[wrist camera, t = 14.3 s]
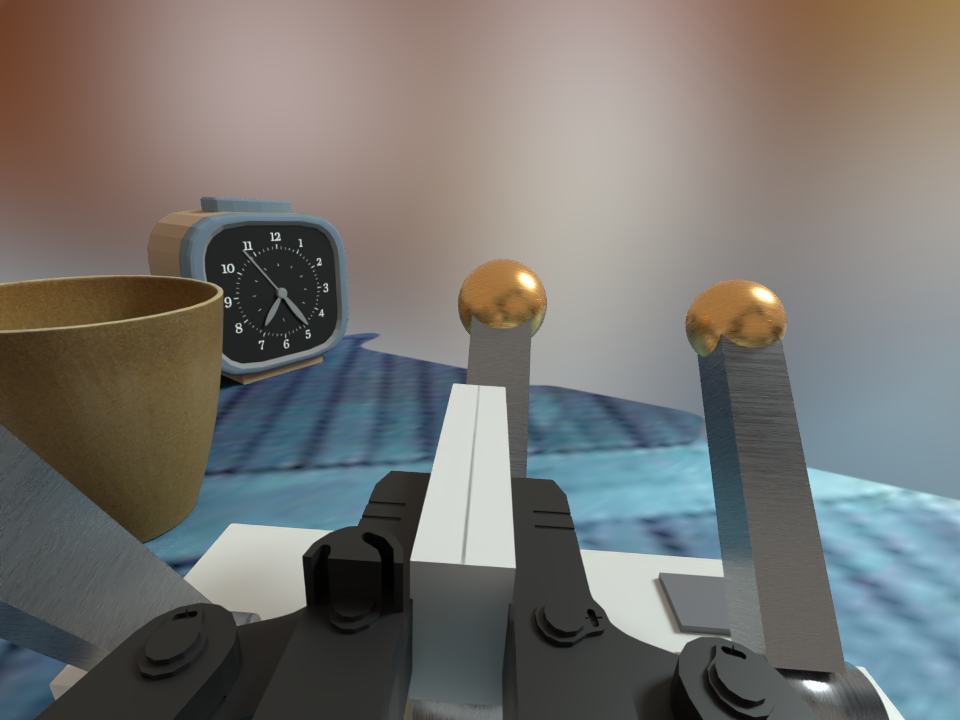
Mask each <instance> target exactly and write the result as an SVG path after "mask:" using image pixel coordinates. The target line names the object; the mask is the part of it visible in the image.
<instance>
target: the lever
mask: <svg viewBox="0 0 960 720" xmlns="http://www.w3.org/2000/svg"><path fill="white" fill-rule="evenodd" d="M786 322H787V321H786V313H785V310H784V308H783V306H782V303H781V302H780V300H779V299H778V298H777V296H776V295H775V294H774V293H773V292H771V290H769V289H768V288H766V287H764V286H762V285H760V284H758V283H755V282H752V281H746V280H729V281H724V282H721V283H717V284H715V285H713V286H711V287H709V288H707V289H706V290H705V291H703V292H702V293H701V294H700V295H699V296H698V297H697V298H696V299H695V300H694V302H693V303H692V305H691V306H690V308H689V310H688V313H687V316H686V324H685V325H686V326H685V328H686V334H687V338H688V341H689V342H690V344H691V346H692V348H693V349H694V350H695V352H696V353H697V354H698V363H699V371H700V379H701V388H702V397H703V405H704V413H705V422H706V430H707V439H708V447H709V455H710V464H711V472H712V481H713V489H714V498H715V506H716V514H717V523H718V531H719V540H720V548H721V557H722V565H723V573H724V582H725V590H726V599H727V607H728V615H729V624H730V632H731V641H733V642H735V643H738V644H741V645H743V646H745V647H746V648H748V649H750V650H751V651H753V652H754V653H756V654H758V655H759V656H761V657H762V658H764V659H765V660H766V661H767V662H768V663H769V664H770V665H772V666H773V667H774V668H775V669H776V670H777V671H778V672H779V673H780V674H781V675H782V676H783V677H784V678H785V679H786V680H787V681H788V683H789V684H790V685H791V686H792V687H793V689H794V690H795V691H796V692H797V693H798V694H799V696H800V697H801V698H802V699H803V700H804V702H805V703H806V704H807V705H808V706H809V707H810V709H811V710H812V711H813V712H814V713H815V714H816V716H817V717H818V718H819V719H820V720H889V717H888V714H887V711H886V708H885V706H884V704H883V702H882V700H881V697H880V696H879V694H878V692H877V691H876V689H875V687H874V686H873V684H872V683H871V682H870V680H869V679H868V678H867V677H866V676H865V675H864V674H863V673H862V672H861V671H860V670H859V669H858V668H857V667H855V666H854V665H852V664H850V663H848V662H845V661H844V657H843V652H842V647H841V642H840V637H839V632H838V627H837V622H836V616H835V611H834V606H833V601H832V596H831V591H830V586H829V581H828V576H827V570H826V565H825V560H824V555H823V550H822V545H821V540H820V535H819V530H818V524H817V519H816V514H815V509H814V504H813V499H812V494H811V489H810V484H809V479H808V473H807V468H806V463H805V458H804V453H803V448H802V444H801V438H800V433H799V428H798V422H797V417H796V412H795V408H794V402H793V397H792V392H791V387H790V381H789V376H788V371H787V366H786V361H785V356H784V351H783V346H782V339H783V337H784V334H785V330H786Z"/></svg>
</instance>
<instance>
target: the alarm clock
mask: <svg viewBox="0 0 960 720" xmlns="http://www.w3.org/2000/svg"><path fill="white" fill-rule="evenodd" d="M201 206H202V210H191V211H184V212H177V213H171V214H169V215H168V216H166V217H164V218H163V219H161V220H160V221H158V222H157V224H156V225H155V227H154V228H153V230H152V232H151V233H150V237H149V243H148V260H149V266H150V272H151V276H169V277H181V278H190V279H195V280H201V281H205V282H210V283H213V284H215V285H218V286H219V287H221V288H222V289H223V345H222V366H221V374H222V375H224V376H226V377H228V378H230V379H232V380H235V381H237V382H239V383H241V384H243V385H245V384H248V383H252V382H255V381H259V380H262V379H265V378H269V377H272V376H276V375H279V374H283V373H286V372H289V371H293V370H296V369H300V368H303V367H307V366H310V365H314V364H317V363H320V362H323V356H322V354H324V353H326V352H328V351H330V350H332V349H334V348H335V347H336V345H337V344H338V343H339V342H340V341H341V340H342V338H343V336H344V333H345V332H346V328H347V322H348V291H347V272H346V257H345V249H344V245H343V242H342V240H341V236H340V234H339V233H338V232H337V230H336V228H335V227H334V226H333V225H331V224H330V223H329V222H328V221H326V220H325V219H323V218H319V217H314V216H309V215H304V214H295V213H292V211H291V203H290V202H289V201H280V200H261V199H259V200H258V199H238V198H213V197H202V198H201Z"/></svg>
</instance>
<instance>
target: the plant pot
mask: <svg viewBox="0 0 960 720" xmlns="http://www.w3.org/2000/svg"><path fill="white" fill-rule="evenodd" d="M222 345H223V289H222V288H221V287H219V286H218V285H215V284H213V283H210V282H205V281H201V280H195V279H190V278H181V277H169V276H151V275H114V276H113V275H110V276H109V275H107V276H106V275H105V276H81V277H66V278H51V279H40V280H28V281H18V282H10V283H1V284H0V424H1V425H2V426H4V427H5V428H6V429H7V430H8V431H10V432H11V433H12V434H13V435H14V436H15V437H17V438H18V439H19V440H20V441H21V442H23V443H24V444H25V445H26V446H27V447H28V448H30V449H31V450H32V451H33V452H34V453H36V454H37V455H38V456H39V457H40V458H41V459H43V460H44V461H45V462H46V463H47V464H49V465H50V466H51V467H52V468H53V469H54V470H56V471H57V472H58V473H59V474H60V475H62V476H63V477H64V478H65V479H66V480H67V481H69V482H70V483H71V484H72V485H73V486H75V487H76V488H77V489H78V490H79V491H81V492H82V493H83V494H84V495H85V496H86V497H88V498H89V499H90V500H91V501H92V502H94V503H95V504H96V505H97V506H98V507H99V508H101V509H102V510H103V511H104V512H105V513H107V514H108V515H109V516H110V517H111V518H112V519H114V520H115V521H116V522H117V523H118V524H120V525H121V526H122V527H123V528H124V529H125V530H127V531H128V532H129V533H130V534H131V535H133V536H134V537H135V538H136V539H137V540H138V541H140V542H141V543H144V542H146V541H149V540H151V539H154V538H156V537H158V536H160V535H162V534H164V533H166V532H167V531H169V530H171V529H172V528H174V527H175V526H177V525H178V524H179V523H181V522H182V521H183V520H184V519H185V518H186V517H187V516H188V515H189V514H190V513H191V511H192V510H193V509H194V507H195V504H196V501H197V498H198V495H199V491H200V488H201V484H202V481H203V477H204V473H205V469H206V466H207V462H208V457H209V452H210V448H211V443H212V438H213V432H214V426H215V421H216V413H217V406H218V398H219V390H220V378H221V366H222Z"/></svg>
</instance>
